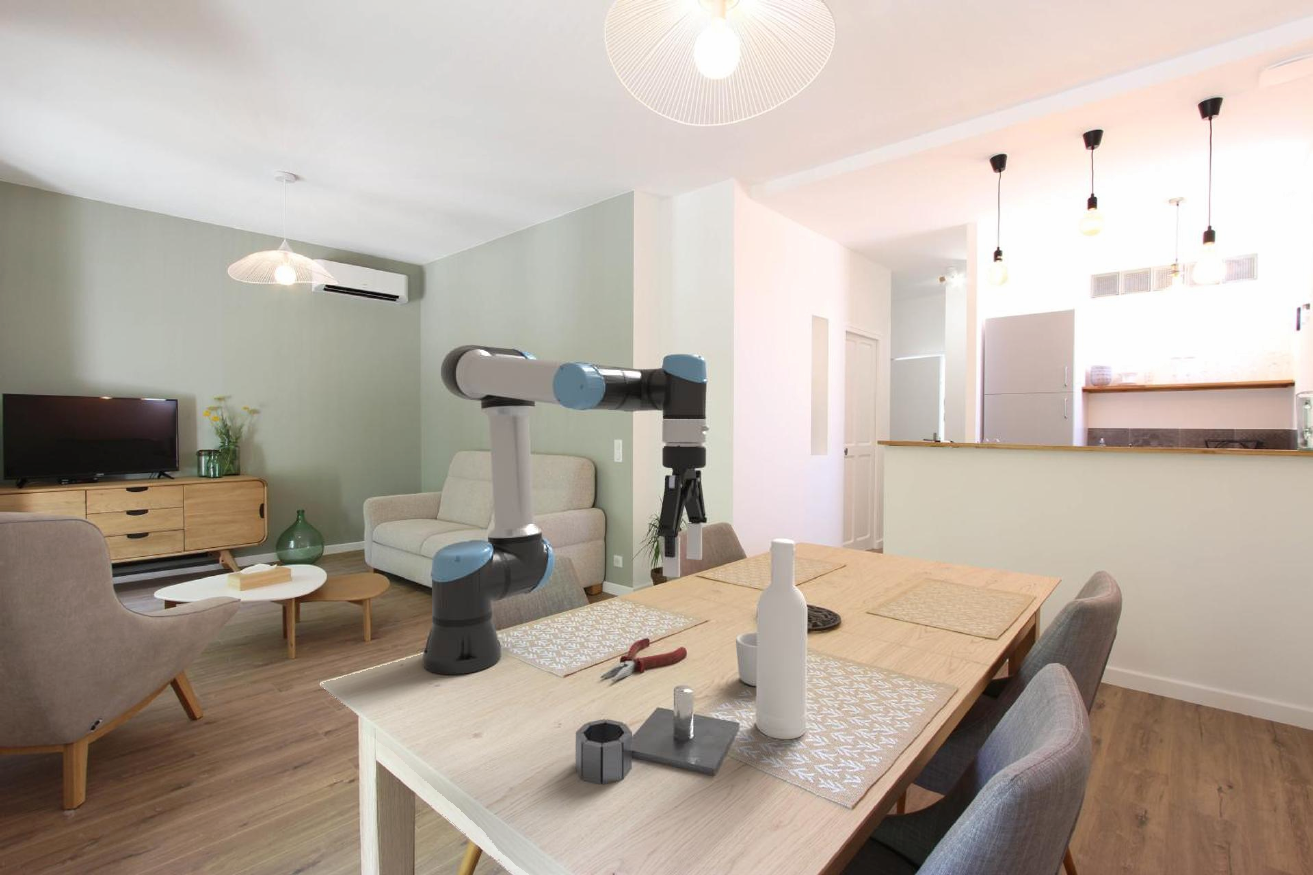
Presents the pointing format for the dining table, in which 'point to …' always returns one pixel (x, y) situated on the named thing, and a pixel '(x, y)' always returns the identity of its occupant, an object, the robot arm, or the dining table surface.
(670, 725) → the piston jig
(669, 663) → the pliers
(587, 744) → the ring
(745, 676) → the cup
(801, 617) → the bottle
